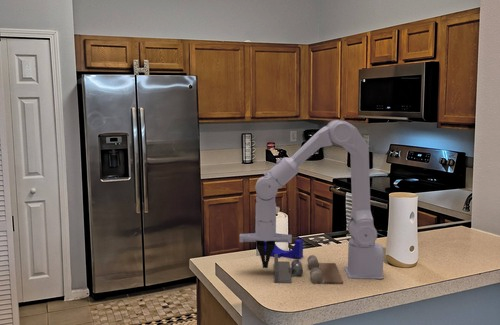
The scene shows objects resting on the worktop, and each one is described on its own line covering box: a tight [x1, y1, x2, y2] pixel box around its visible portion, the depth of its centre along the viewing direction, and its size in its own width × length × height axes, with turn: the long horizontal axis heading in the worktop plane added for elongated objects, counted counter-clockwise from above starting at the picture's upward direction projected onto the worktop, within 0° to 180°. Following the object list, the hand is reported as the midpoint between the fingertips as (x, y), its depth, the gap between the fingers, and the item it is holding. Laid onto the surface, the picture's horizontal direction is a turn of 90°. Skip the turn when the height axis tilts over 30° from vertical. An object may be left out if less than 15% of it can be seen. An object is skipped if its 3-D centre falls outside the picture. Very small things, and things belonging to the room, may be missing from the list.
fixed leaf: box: [306, 254, 344, 285], centre depth 134 cm, size 8×15×3 cm, turn 178°
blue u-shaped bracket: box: [265, 238, 304, 261], centre depth 150 cm, size 12×4×6 cm, turn 62°
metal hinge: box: [273, 254, 304, 284], centre depth 135 cm, size 8×15×3 cm, turn 178°
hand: (265, 266), depth 135 cm, fingers closed
